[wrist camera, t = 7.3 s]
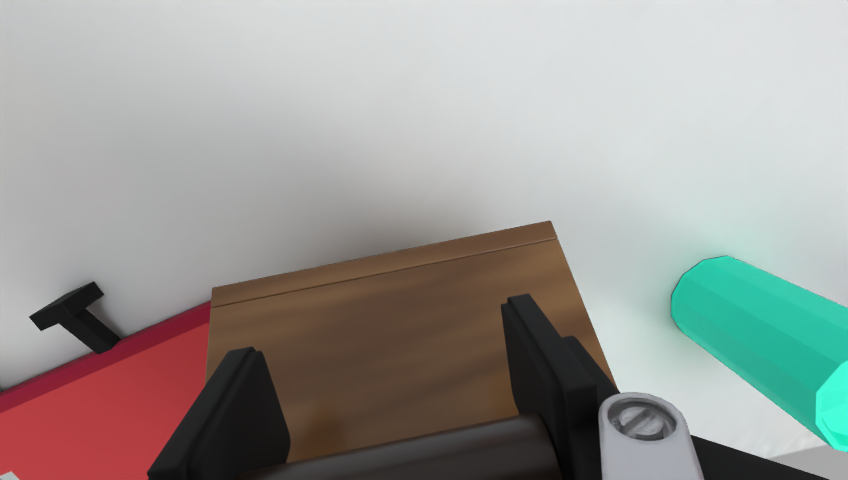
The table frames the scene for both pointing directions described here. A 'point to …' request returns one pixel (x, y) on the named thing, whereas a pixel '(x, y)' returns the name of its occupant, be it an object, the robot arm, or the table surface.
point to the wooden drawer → (405, 358)
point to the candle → (772, 339)
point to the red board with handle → (103, 397)
